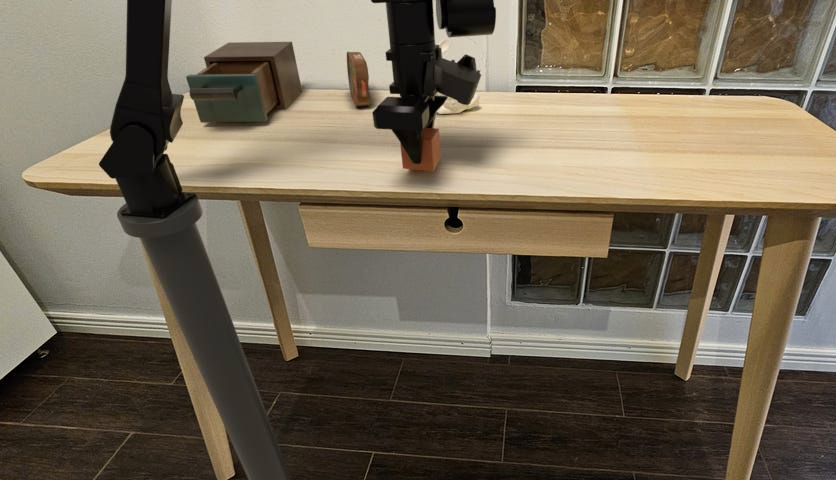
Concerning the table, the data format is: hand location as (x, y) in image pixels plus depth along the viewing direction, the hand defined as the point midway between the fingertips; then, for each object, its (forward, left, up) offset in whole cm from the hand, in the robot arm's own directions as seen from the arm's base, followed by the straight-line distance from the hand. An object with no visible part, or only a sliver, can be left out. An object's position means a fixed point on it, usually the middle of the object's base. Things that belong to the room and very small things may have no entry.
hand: (421, 156), depth 76 cm
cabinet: (+28, +40, -2) cm, 49 cm away
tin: (+31, +20, -2) cm, 37 cm away
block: (0, 0, -1) cm, 1 cm away
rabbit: (+28, +3, -2) cm, 28 cm away
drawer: (+16, +38, -1) cm, 41 cm away
